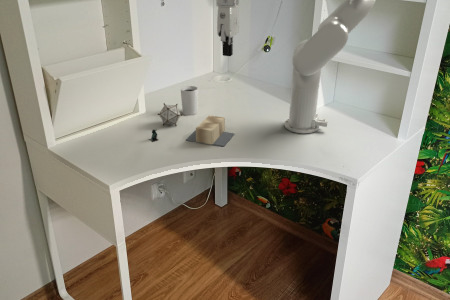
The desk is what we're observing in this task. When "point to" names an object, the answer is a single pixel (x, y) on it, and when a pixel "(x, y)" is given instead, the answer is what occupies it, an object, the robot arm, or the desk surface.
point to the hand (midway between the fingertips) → (227, 55)
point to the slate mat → (220, 141)
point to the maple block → (210, 129)
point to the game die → (170, 114)
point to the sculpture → (153, 136)
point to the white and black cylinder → (189, 100)
